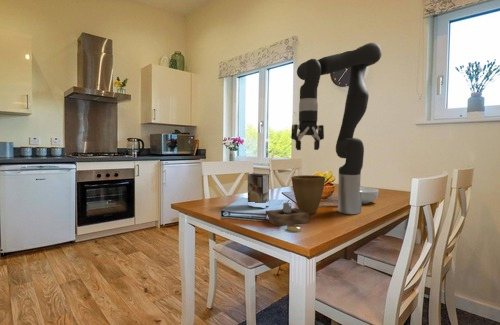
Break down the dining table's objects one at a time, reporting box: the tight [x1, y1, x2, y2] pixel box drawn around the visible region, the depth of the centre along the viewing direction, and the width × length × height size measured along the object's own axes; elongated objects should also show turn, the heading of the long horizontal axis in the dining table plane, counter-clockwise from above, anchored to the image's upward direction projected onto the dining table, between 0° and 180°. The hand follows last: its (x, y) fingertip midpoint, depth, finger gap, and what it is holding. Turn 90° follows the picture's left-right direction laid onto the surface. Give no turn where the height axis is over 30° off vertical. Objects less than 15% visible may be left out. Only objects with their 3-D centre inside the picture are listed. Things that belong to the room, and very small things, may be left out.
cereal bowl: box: [360, 186, 379, 205], centre depth 145 cm, size 17×17×7 cm
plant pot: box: [290, 174, 326, 215], centre depth 123 cm, size 15×15×16 cm
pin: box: [282, 202, 292, 214], centre depth 109 cm, size 3×3×7 cm
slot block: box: [265, 207, 310, 227], centre depth 109 cm, size 14×10×4 cm
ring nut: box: [286, 224, 303, 233], centre depth 98 cm, size 5×5×2 cm
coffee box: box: [247, 172, 270, 203], centre depth 133 cm, size 9×6×16 cm
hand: (307, 150), depth 114 cm, fingers open, 8 cm apart
